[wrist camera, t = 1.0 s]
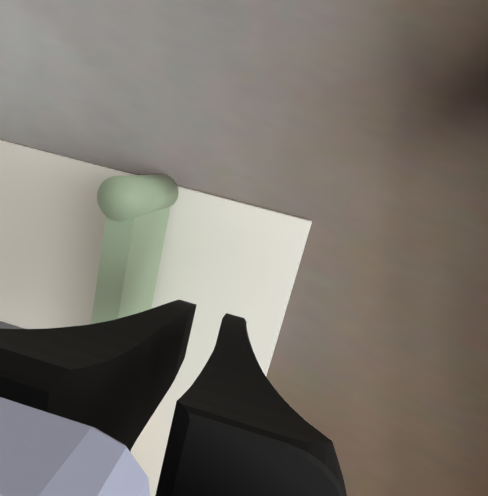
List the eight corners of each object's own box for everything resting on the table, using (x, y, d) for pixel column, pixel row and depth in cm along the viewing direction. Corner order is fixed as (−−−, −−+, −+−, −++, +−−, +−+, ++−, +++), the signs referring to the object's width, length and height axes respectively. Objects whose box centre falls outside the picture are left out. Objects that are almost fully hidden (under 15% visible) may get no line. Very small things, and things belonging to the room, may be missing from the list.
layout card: (220, 529, 24) (219, 536, 24) (-43, 440, 26) (-49, 445, 25) (311, 220, 19) (311, 222, 18) (-30, 131, 20) (-38, 131, 20)
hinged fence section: (140, 393, 22) (98, 454, 17) (112, 384, 22) (63, 443, 17) (181, 178, 18) (143, 182, 14) (148, 170, 18) (100, 171, 14)
